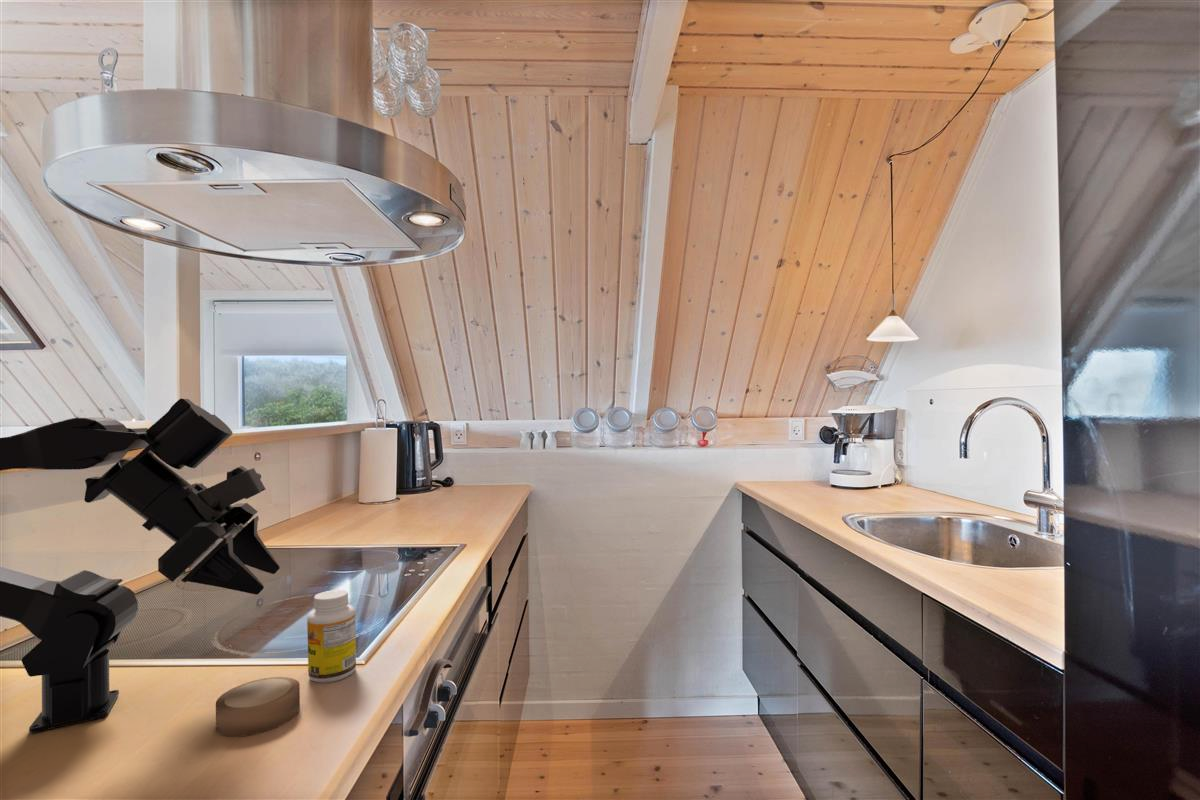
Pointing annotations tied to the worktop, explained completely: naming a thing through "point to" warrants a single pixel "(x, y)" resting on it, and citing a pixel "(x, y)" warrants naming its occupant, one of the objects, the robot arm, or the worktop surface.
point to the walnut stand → (257, 706)
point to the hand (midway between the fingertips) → (269, 580)
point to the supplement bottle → (331, 637)
